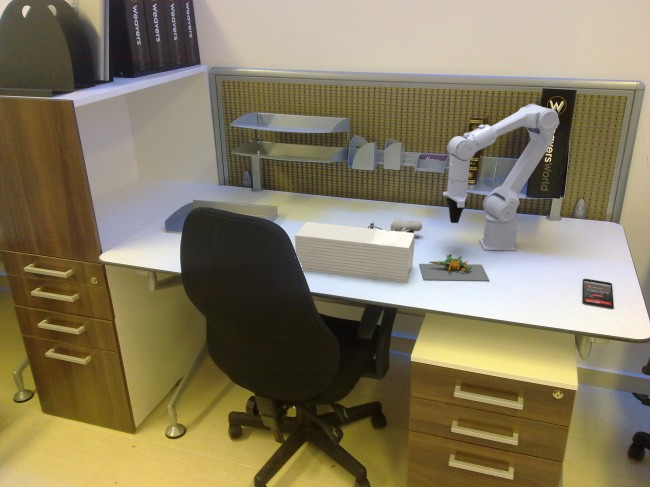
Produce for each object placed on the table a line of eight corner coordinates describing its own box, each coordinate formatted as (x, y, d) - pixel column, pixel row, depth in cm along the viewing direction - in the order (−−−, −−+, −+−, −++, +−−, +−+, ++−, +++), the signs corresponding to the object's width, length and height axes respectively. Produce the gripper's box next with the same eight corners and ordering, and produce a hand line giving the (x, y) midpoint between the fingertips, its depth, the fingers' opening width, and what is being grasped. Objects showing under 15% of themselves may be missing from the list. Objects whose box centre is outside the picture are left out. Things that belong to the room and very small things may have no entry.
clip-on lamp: (362, 246, 186) (413, 245, 177) (357, 228, 184) (409, 227, 175) (376, 231, 196) (426, 229, 186) (372, 214, 193) (422, 211, 184)
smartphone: (582, 303, 145) (582, 278, 158) (581, 305, 145) (582, 280, 158) (614, 308, 142) (612, 282, 155) (613, 311, 143) (611, 285, 155)
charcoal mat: (481, 265, 166) (481, 264, 166) (489, 281, 157) (489, 280, 157) (419, 264, 167) (419, 263, 167) (423, 280, 158) (423, 279, 157)
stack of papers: (412, 267, 166) (414, 233, 161) (406, 283, 156) (409, 247, 152) (307, 254, 174) (306, 221, 170) (295, 269, 164) (294, 235, 160)
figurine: (470, 265, 166) (471, 278, 159) (428, 259, 168) (427, 272, 161) (472, 256, 165) (473, 268, 158) (430, 250, 167) (429, 262, 159)
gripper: (440, 171, 173) (437, 213, 179) (448, 186, 160) (444, 231, 165) (464, 171, 173) (460, 213, 178) (474, 186, 160) (469, 231, 165)
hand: (454, 222), depth 172 cm, fingers closed
